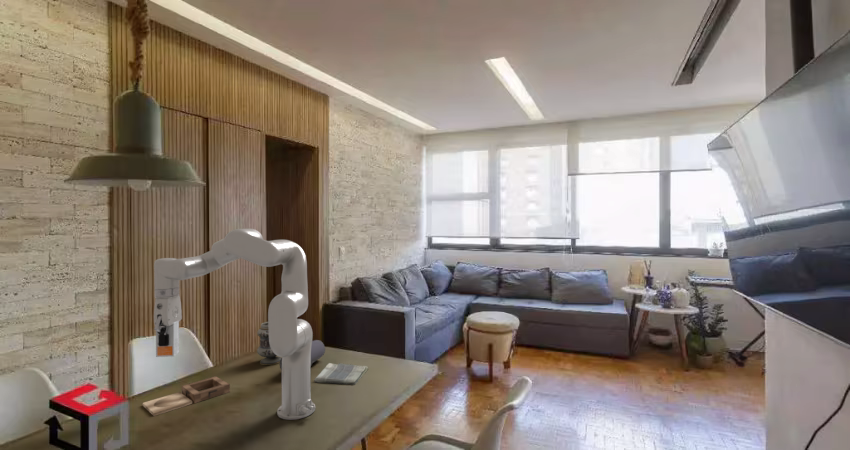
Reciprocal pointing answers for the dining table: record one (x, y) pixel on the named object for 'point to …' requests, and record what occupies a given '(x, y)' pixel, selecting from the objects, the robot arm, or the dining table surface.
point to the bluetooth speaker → (314, 351)
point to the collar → (216, 390)
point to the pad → (167, 403)
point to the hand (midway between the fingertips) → (167, 343)
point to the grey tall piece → (266, 347)
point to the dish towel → (341, 374)
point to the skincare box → (173, 342)
